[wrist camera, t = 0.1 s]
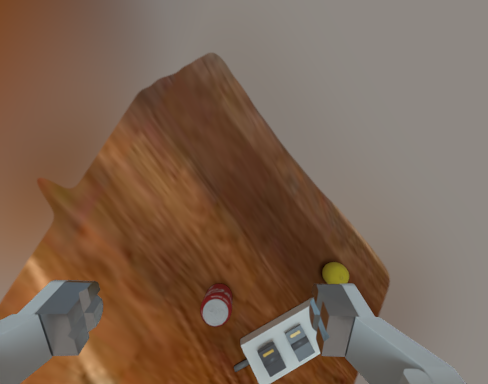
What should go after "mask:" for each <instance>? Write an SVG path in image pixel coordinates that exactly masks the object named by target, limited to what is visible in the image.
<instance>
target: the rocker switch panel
mask: <svg viewBox="0 0 488 384" xmlns="http://www.w3.org/2000/svg"><path fill="white" fill-rule="evenodd" d="M312 299H313V297H312V298H311V299H309V300H307V301H305V302H304V303H302V304H300V305H298V306H297V307H295V308H293V309H291V310H290V311H288V312H286V313H285V314H283V315H281V316H279V317H278V318H276V319H274V320H272V321H271V322H269V323H267V324H265V325H264V326H262V327H260V328H258V329H257V330H255V331H253V332H252V333H250V334H248V335H246V336H245V337H243V338H241V339H240V344H241V348H242V350H243V352H244V354H245V356H246V358H247V359H246V360H244V361H242V362H241V363H239V364H237V365H235V366H234V370H235V372H237V371H239V370H241V369H242V368H244V367H246V366H247V365H249V364H250V366H251V368H252V370H253V372H254V374H255V376H256V378H257V380H258V382H259V384H270V383H272V382H274V381H275V380H277V379H279V378H280V377H282V376H284V375H285V374H287V373H289V372H290V371H292V370H294V369H295V368H297V367H299V366H300V365H302V364H304V363H305V362H307V361H309V360H310V359H312V358H314V357H315V356H317V355H319V354H320V350H319V347H318V344H317V341H316V334H317V332H316V331H315V330H314V329H313V328H312V325H311V322H310V317H309V304H310V301H311V300H312ZM299 324H300V325H301V327H302V328H303V330H304V332H305V334H306V336H307V338H308V340H309V342H310V343H311V345H312V347H313V349H314V351H315V353H314V354H312V355H310V356H309V357H307V358H305V359H304V360H302V361H300V362H299V361H298V359H297V357H296V355H295V353H294V351H293V349H292V347H291V345H290V343H289V341H288V339H287V337H286V335H285V332H287V331H288V330H290V329H292V328H294V327H295V326H297V325H299ZM272 341H273V342H274V344H275V346H276V348H277V349H278V351H279V353H280V355H281V357H282V359H283V361H284V363H285V365H286V368H285V369H283V370H282V371H280V372H278V373H277V374H275V375H273V376H272V377H270V376H269V374H268V372H267V370H266V368H265V367H264V365H263V362H262V360H261V359H260V357H259V355H258V352H257V350H258V349H260V348H262V347H263V346H265V345H267V344H268V343H270V342H272Z"/></svg>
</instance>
